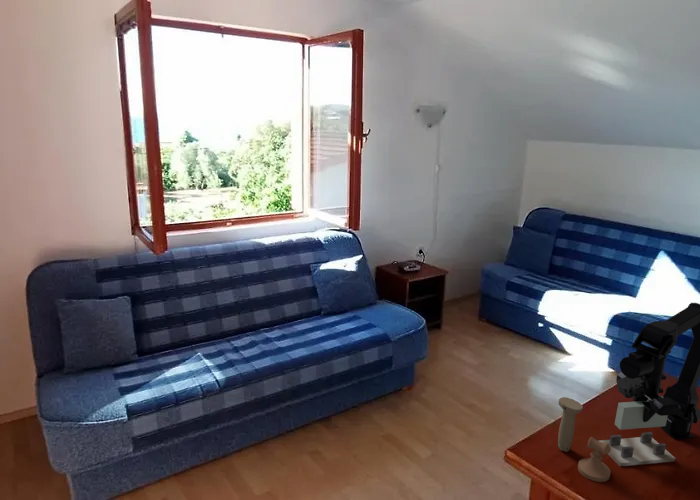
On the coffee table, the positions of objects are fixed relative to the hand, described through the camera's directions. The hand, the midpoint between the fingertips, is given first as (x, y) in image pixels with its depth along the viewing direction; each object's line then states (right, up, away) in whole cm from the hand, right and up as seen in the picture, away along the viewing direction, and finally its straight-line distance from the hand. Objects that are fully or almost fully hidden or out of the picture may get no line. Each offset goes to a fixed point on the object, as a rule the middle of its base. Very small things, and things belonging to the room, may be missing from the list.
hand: (641, 418), depth 147 cm
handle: (-21, -10, +4) cm, 23 cm away
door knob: (-16, -13, -5) cm, 21 cm away
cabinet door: (0, -2, +1) cm, 2 cm away
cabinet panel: (0, -11, +3) cm, 11 cm away
